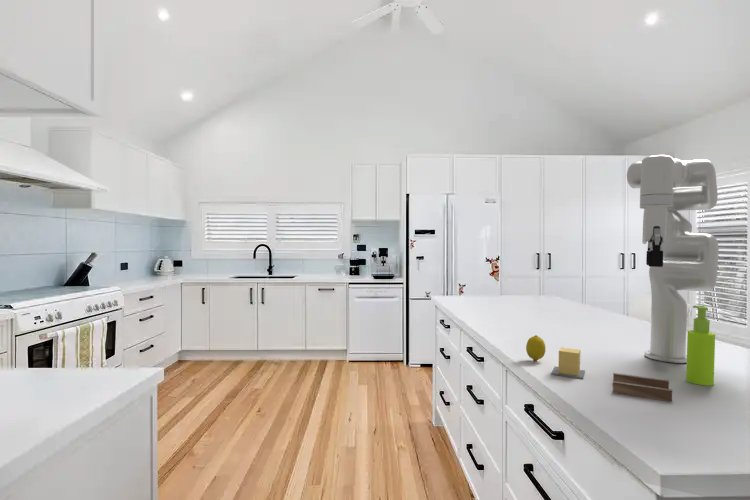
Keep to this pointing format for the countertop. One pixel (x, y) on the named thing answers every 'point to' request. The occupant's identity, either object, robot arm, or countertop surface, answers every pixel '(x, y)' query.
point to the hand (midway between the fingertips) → (654, 265)
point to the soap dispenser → (700, 351)
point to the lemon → (535, 348)
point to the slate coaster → (580, 376)
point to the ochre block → (569, 361)
